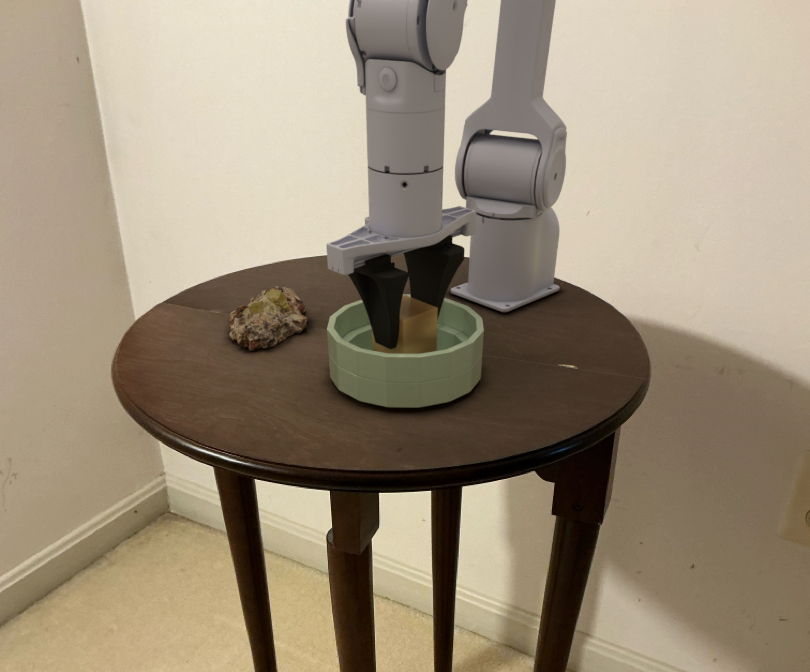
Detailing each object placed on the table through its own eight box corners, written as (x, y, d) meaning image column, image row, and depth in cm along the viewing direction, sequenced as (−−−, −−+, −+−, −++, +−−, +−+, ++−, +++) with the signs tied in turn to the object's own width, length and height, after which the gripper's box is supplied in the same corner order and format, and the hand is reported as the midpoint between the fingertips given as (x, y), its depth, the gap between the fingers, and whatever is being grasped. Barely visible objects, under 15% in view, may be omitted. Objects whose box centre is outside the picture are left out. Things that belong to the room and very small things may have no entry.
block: (405, 338, 69) (405, 294, 67) (436, 351, 67) (438, 307, 65) (372, 351, 67) (370, 306, 65) (403, 366, 65) (403, 320, 62)
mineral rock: (239, 284, 80) (309, 268, 77) (255, 323, 82) (323, 309, 80) (198, 328, 72) (274, 312, 69) (217, 370, 74) (291, 356, 72)
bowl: (407, 333, 76) (407, 283, 73) (510, 377, 68) (515, 323, 65) (301, 375, 69) (296, 321, 66) (402, 429, 61) (402, 372, 58)
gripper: (435, 142, 64) (431, 301, 72) (295, 172, 56) (310, 347, 65) (499, 156, 60) (488, 323, 68) (359, 190, 52) (365, 374, 61)
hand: (405, 336), depth 66 cm, fingers closed on block, 4 cm apart
